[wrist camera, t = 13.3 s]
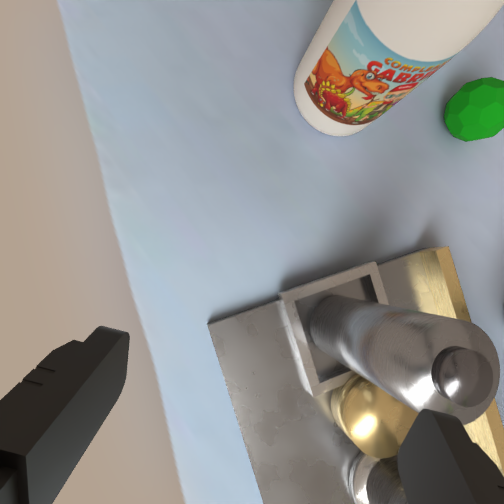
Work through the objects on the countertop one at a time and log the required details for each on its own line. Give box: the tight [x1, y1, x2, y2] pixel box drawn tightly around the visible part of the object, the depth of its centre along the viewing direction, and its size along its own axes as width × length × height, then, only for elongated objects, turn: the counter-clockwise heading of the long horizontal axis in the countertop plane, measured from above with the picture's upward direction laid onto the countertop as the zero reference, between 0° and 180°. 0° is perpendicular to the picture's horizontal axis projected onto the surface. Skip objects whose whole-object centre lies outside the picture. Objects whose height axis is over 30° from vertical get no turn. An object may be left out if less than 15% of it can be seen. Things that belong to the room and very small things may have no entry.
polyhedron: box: [444, 77, 504, 142], centre depth 28 cm, size 5×5×5 cm
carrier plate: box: [207, 246, 504, 504], centre depth 21 cm, size 21×20×14 cm
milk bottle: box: [294, 0, 504, 136], centre depth 19 cm, size 8×8×20 cm
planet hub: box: [310, 296, 500, 426], centre depth 20 cm, size 5×5×13 cm
